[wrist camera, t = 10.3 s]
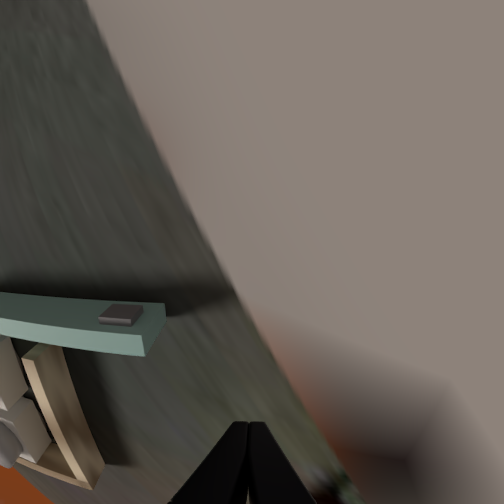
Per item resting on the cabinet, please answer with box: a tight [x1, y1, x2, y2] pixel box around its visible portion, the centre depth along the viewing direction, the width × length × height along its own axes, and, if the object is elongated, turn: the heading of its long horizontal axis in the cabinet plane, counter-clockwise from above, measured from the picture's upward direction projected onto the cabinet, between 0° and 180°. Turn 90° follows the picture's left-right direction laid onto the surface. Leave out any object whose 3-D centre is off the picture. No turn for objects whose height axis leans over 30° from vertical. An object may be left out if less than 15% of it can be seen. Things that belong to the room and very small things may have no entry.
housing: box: [13, 342, 105, 490], centre depth 17 cm, size 12×14×3 cm
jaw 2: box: [0, 397, 51, 468], centre depth 16 cm, size 4×4×5 cm
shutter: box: [0, 292, 167, 357], centre depth 14 cm, size 1×14×4 cm, turn 90°
